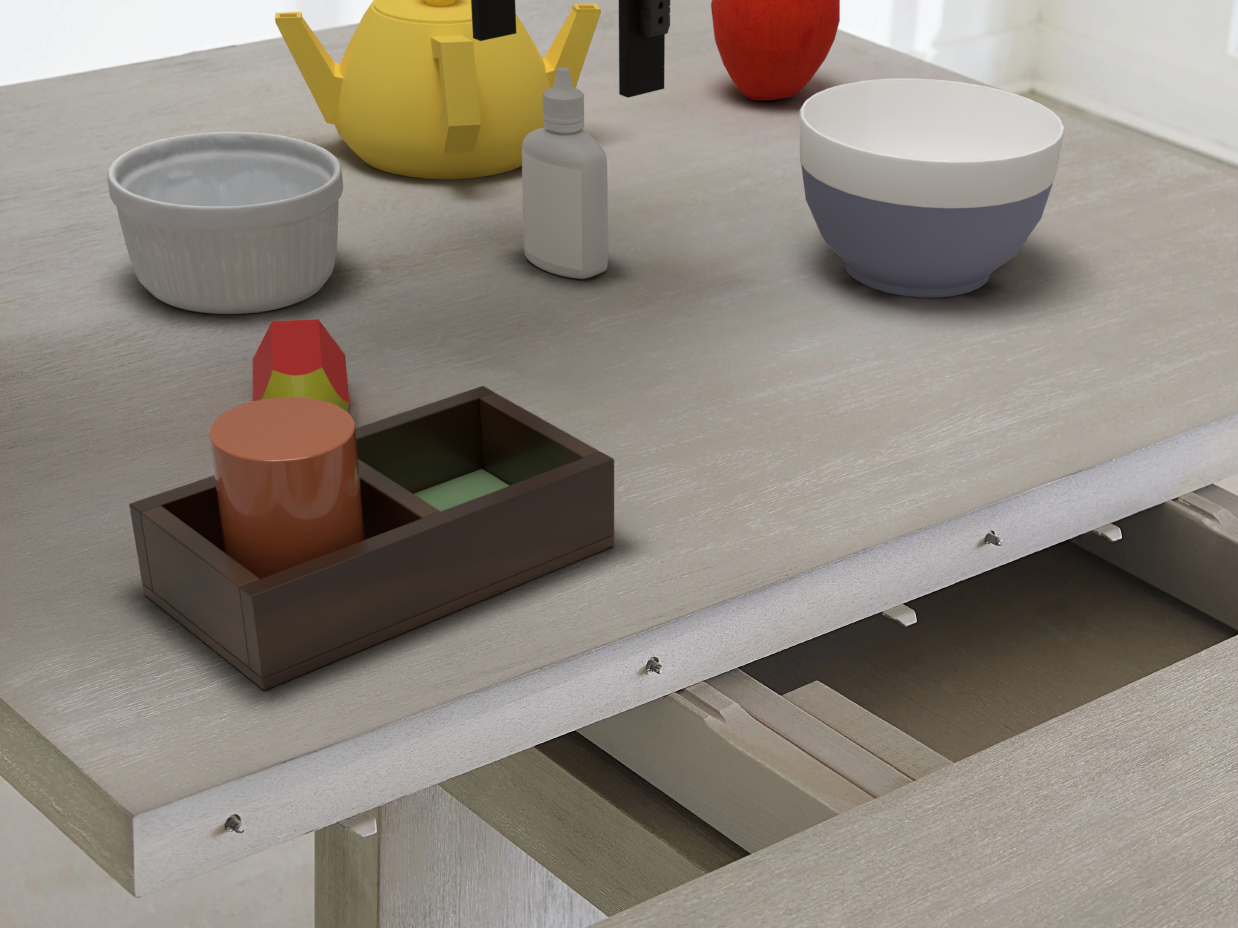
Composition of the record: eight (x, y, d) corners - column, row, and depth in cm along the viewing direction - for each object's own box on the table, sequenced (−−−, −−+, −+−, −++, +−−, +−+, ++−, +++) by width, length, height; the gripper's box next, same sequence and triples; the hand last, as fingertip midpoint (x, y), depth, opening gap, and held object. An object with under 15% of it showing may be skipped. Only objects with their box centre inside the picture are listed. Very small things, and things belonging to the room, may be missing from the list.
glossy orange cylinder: (204, 585, 85) (181, 422, 80) (320, 543, 88) (304, 383, 84) (278, 642, 81) (258, 474, 77) (395, 595, 85) (383, 432, 80)
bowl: (872, 337, 111) (885, 176, 106) (746, 243, 123) (753, 93, 117) (1095, 297, 118) (1118, 143, 112) (955, 211, 129) (971, 67, 123)
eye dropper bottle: (544, 285, 116) (540, 86, 109) (519, 252, 120) (513, 57, 113) (613, 278, 117) (613, 80, 110) (586, 245, 121) (584, 52, 114)
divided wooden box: (143, 594, 85) (128, 503, 82) (486, 468, 96) (483, 384, 93) (264, 690, 79) (252, 596, 77) (614, 545, 90) (614, 458, 88)
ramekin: (388, 259, 118) (381, 147, 114) (283, 340, 108) (270, 221, 104) (198, 227, 121) (184, 118, 117) (78, 303, 111) (58, 186, 107)
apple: (802, 125, 143) (812, -46, 136) (684, 103, 146) (688, -66, 139) (854, 90, 150) (866, -73, 143) (741, 70, 153) (747, -91, 146)
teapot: (432, 96, 145) (422, -71, 138) (613, 141, 138) (613, -32, 131) (278, 155, 133) (260, -25, 126) (469, 207, 126) (460, 21, 119)
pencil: (257, 502, 92) (247, 425, 90) (256, 395, 102) (248, 322, 99) (358, 496, 93) (351, 419, 91) (348, 390, 103) (341, 317, 100)
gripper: (775, -329, 94) (759, 103, 106) (470, -382, 108) (487, 4, 121) (660, -319, 90) (657, 130, 102) (359, -375, 104) (388, 24, 116)
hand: (565, 63), depth 111 cm, fingers open, 13 cm apart
